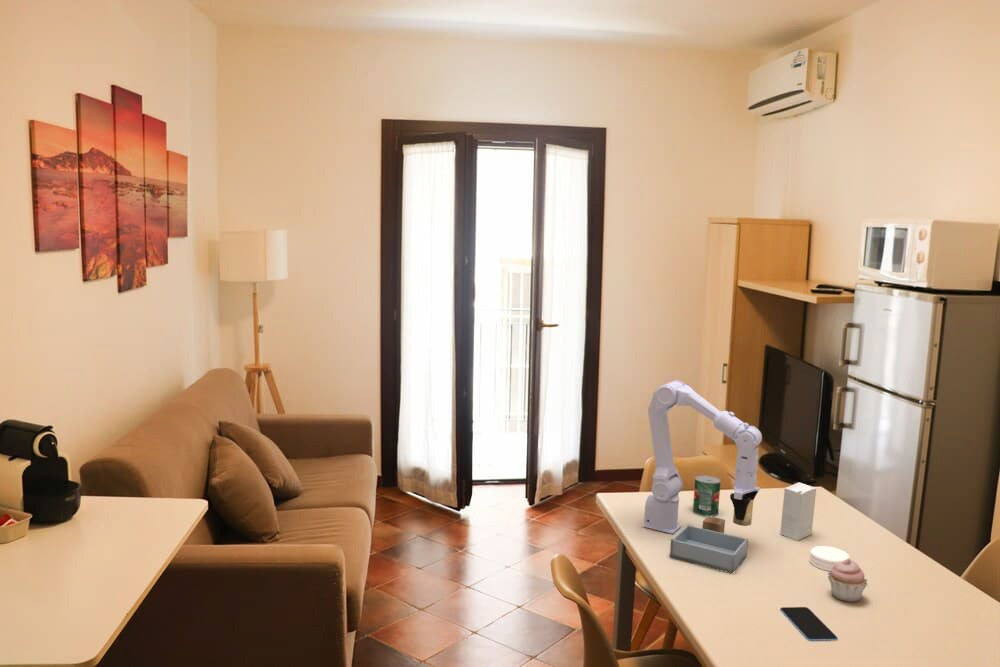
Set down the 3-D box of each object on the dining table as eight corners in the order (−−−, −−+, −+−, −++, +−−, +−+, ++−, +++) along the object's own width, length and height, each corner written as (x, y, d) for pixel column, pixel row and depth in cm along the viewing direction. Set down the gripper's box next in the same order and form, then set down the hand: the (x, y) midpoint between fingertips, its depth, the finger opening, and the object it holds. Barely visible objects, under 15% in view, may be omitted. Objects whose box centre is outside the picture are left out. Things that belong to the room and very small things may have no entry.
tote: (669, 557, 218) (671, 539, 217) (686, 541, 229) (687, 524, 228) (732, 573, 209) (734, 555, 208) (746, 556, 220) (747, 539, 219)
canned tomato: (689, 507, 256) (691, 474, 255) (712, 507, 257) (715, 474, 256) (697, 517, 248) (700, 483, 247) (722, 516, 249) (724, 482, 248)
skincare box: (794, 528, 241) (798, 481, 239) (813, 535, 237) (817, 487, 235) (779, 535, 236) (783, 486, 234) (797, 541, 232) (802, 492, 229)
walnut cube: (701, 537, 233) (702, 521, 232) (707, 532, 237) (708, 515, 236) (718, 541, 230) (719, 524, 229) (723, 536, 234) (725, 519, 234)
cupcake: (817, 591, 201) (820, 553, 199) (845, 585, 204) (849, 548, 203) (845, 608, 192) (849, 568, 191) (874, 602, 195) (879, 563, 194)
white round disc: (854, 565, 217) (855, 553, 217) (840, 576, 210) (842, 564, 209) (817, 554, 224) (818, 542, 223) (803, 564, 217) (804, 552, 216)
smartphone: (807, 606, 192) (840, 638, 177) (807, 609, 192) (839, 642, 177) (778, 606, 191) (808, 639, 176) (777, 610, 191) (807, 642, 176)
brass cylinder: (730, 523, 225) (732, 499, 224) (735, 517, 229) (737, 494, 228) (748, 527, 222) (750, 503, 221) (753, 521, 226) (755, 498, 225)
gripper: (754, 479, 215) (750, 527, 217) (767, 466, 227) (763, 512, 229) (728, 474, 219) (724, 522, 221) (742, 461, 231) (738, 506, 233)
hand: (742, 516), depth 225 cm, fingers closed on brass cylinder, 5 cm apart
